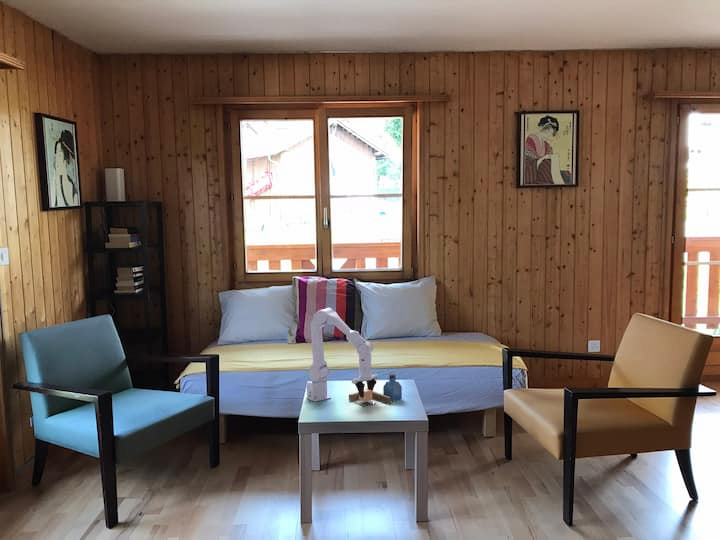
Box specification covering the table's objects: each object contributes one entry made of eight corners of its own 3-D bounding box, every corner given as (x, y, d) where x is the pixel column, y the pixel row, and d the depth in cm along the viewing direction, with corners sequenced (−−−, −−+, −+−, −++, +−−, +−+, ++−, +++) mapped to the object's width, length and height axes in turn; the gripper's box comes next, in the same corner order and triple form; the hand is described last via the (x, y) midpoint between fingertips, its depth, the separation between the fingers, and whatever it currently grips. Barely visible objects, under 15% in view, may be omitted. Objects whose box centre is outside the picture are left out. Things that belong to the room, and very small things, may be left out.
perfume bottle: (392, 396, 302) (392, 372, 301) (401, 399, 298) (401, 374, 297) (383, 399, 298) (383, 375, 297) (392, 402, 293) (392, 377, 292)
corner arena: (369, 408, 284) (369, 402, 283) (346, 400, 298) (346, 394, 298) (390, 403, 291) (390, 397, 291) (367, 395, 306) (367, 389, 305)
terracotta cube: (358, 399, 293) (358, 389, 292) (366, 397, 295) (366, 388, 295) (364, 401, 289) (364, 391, 289) (372, 399, 292) (372, 390, 292)
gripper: (358, 371, 283) (358, 400, 284) (382, 366, 292) (383, 395, 293) (348, 368, 289) (349, 397, 290) (373, 364, 298) (373, 391, 299)
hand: (365, 396), depth 292 cm, fingers closed on terracotta cube, 4 cm apart
